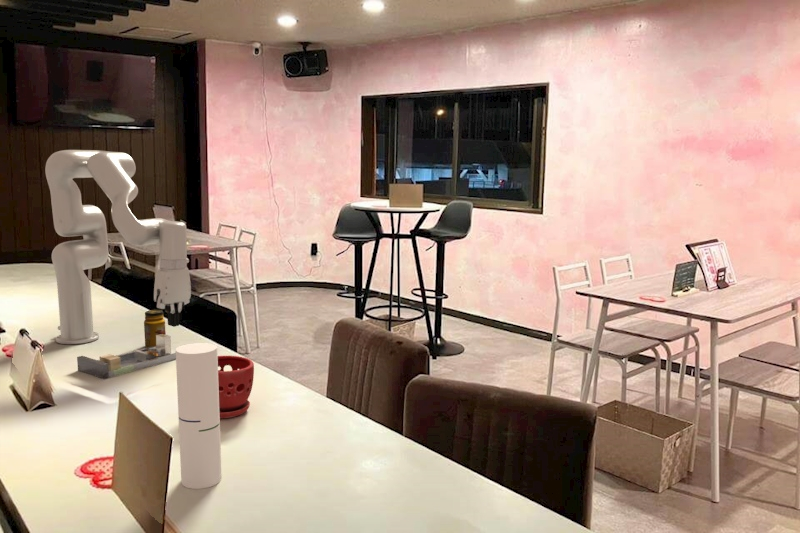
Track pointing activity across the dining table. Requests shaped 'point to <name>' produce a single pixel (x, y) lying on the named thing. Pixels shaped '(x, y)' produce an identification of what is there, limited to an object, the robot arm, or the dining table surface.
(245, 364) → the plant pot
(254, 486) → the dining table surface
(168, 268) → the robot arm
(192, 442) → the cylindrical container
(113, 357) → the beech block
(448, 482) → the dining table surface
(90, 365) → the tray
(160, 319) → the condiment
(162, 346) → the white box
